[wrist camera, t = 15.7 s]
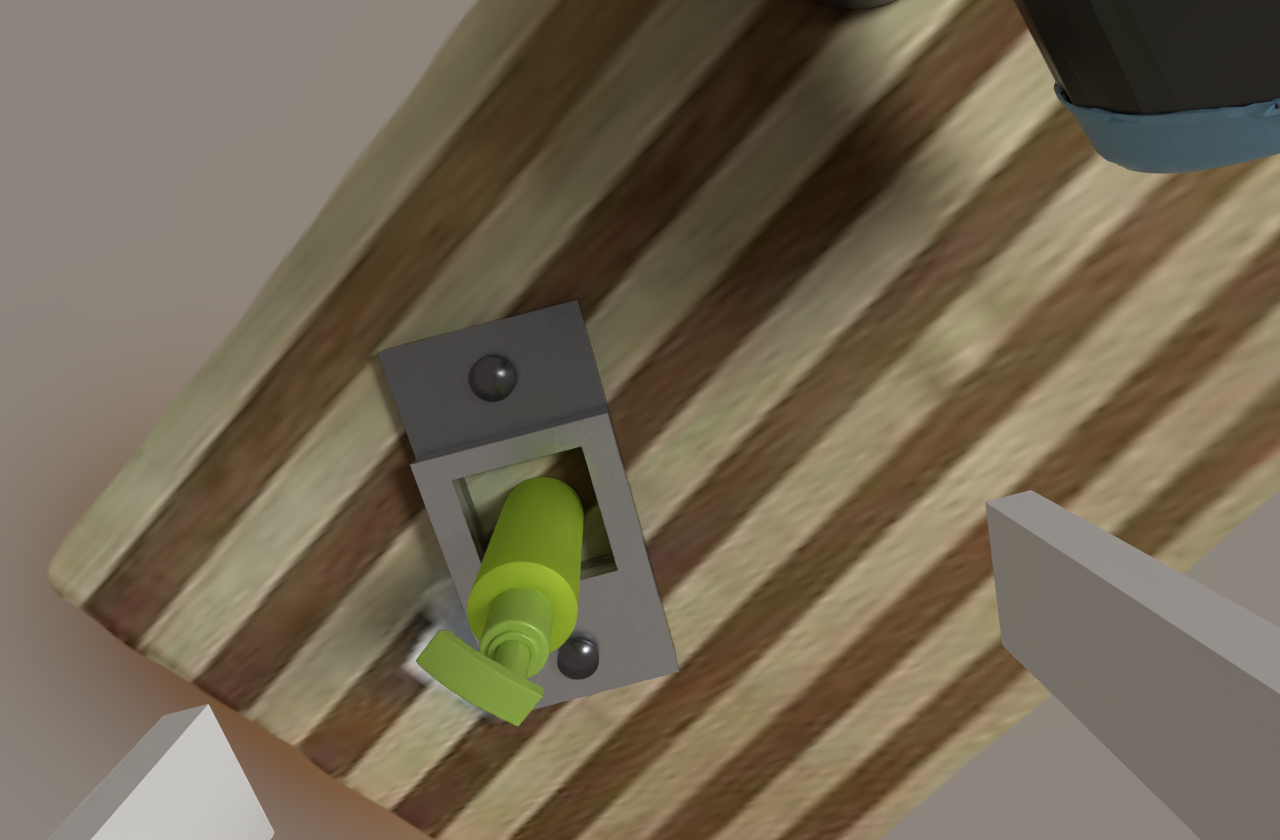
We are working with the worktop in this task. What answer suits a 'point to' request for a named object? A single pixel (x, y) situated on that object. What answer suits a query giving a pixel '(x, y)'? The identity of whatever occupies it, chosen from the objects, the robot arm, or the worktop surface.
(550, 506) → the soap dispenser
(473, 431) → the lower link
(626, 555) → the upper link
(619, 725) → the worktop surface
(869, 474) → the worktop surface
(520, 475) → the worktop surface
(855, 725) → the worktop surface
